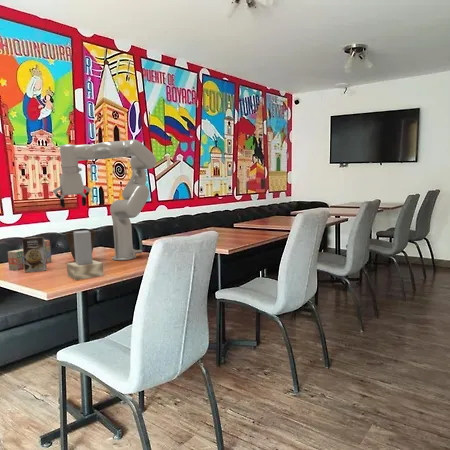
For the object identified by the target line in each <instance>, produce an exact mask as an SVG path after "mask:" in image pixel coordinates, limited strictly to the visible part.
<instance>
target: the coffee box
mask: <svg viewBox="0 0 450 450" xmlns="http://www.w3.org/2000/svg"><path fill="white" fill-rule="evenodd" d="M45 240H46V239H45V236H33V237H31V236H30V237H23V238H22V243H23V244H22V249H23V253H24V265H25V269H24V273H31V272H33V273H34V272H45V271H46V270H47V268H48V267H47V264H46V254H45Z"/></svg>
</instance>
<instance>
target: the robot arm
mask: <svg viewBox="0 0 450 450" xmlns="http://www.w3.org/2000/svg"><path fill="white" fill-rule="evenodd" d="M59 153H60V154H59V155H60V164H61V174H60V176H59V186H58V187H57V188H55V189H53V190H52V192H53V194H54V196H55V197H56V198H58V199H59V203H60V204H59V205H60V207H61V208H63V209H64V208H66V207H65V206H66V204H65V199H64V198H65V196H70V195H80V196H81V206H83V207H85V206H86V205H87V196H89V194H90V192H91V190H92V189H91V188H90V187H88V186H86V185H84V182H83V178H82V174H81V173H80V172H81V171H82V170H83V169H82V168H81V167H79V161H80V162H81V161H90V160H91V161H92V160H108V159H109V160H110V159H117V158H126V157H130V160H129V163H130V164H129V165H130V167H131V172H132V173H131V176H130V178H129V180H128V182H127V183H126V185H125V187H124V188H123V190H122V193H121V196H122V198H123V199H117V200H114V201H113V202H112V203H111V205H110V208H109V212H110V216H111V219H112V229H113V242H114V243H113V245H114V256H112V260H114V261H127V260H134V259H136V258H137V254H143V253H142V252H143V250H142V249H135V248H134V245H133V231H132V227H133V226H132V222H131V219H134V218H137V216H138V215H140V213H141V211H142V210H143V208H144V206H145V205H146V203H147V201H148V199H149V197H150V190H149V187H148V186H147V184H146V183H147V179H148V176H147V173H146V170H150V169H153V168H154V167H156V164H157V158H156V156H155V154H154V153H153V152H152V151H151V150H150V149H148V148H147V146H146V145H145V144H143V143H142V142H141V141H140V140H137V139H127V140H117V141H116V140H114V141H104V142H99V143H98V142H97V143H94V144H87V143H86V144H85V143H84V144H62V145H60V147H59ZM84 190H86V192H85V191H84ZM59 193H60V194H59Z"/></svg>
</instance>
